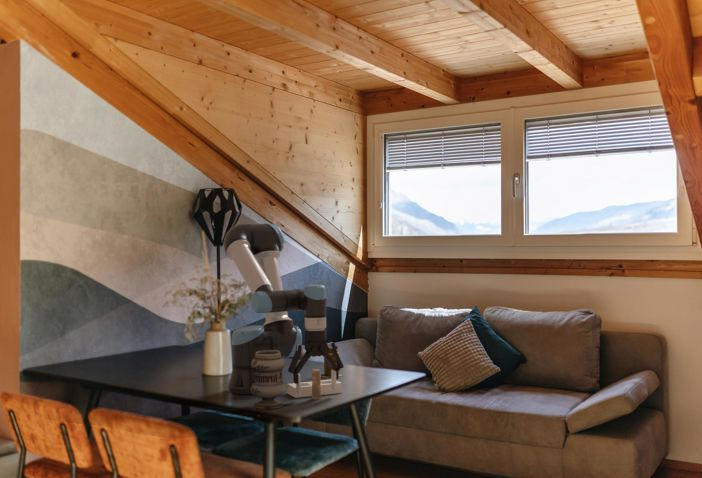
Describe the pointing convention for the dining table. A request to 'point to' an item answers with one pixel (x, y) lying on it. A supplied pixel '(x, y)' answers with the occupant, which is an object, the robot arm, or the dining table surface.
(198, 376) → the dining table surface
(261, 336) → the robot arm
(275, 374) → the apothecary jar
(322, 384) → the hole block
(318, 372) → the dowel
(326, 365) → the condiment
